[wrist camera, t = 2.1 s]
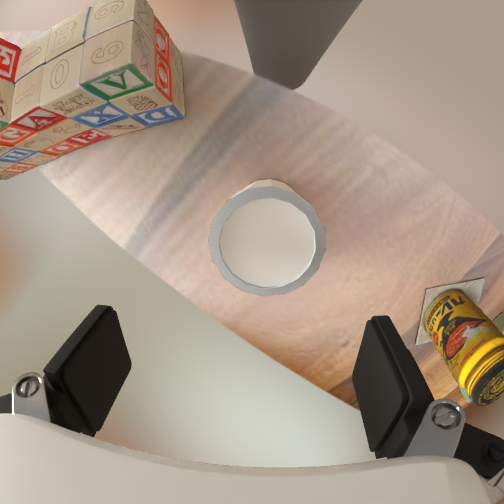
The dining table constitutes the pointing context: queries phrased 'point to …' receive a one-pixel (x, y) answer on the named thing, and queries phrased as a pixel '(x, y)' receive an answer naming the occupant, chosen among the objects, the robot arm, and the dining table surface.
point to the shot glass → (267, 239)
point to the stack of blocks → (86, 83)
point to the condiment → (465, 339)
